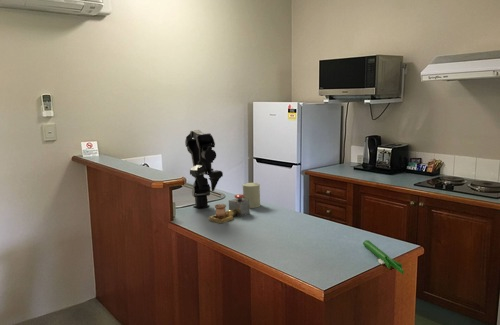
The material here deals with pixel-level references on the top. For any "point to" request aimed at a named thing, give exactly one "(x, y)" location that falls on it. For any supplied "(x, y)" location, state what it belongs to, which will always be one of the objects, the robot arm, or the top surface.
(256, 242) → the top surface
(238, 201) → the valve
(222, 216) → the stub
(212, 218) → the socket
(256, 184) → the can
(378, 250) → the green onion
